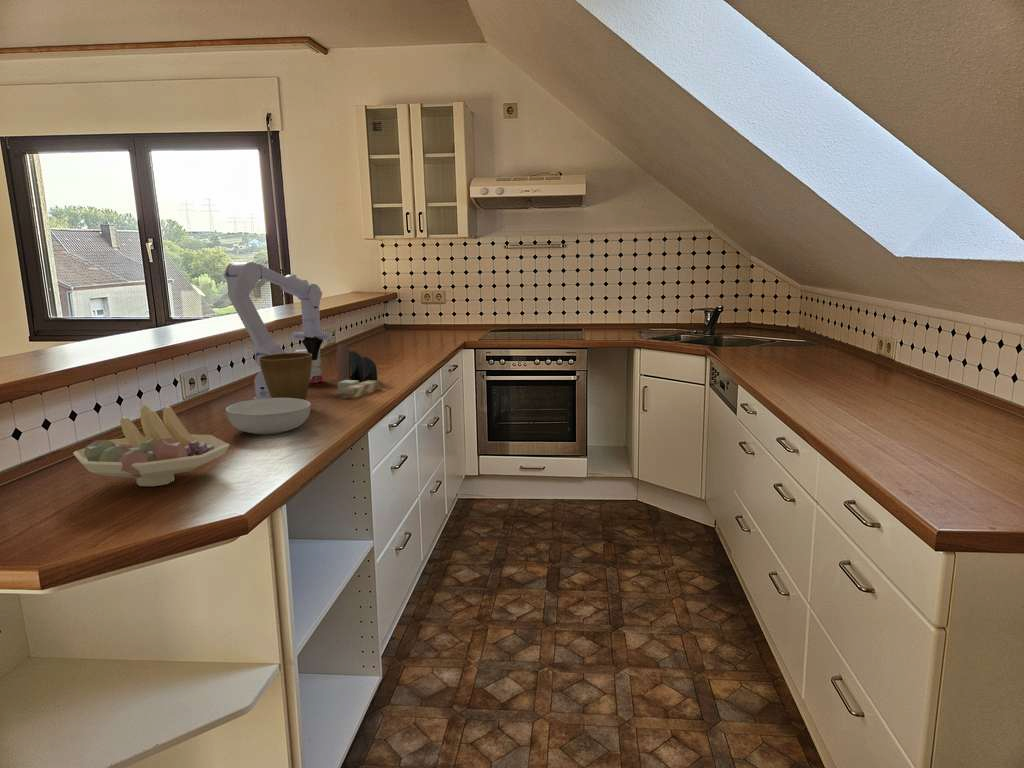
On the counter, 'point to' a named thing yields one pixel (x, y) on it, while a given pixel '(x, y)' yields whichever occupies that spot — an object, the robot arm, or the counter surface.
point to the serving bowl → (268, 415)
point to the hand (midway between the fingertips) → (313, 359)
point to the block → (346, 384)
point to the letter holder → (355, 366)
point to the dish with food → (151, 450)
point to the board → (360, 389)
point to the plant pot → (287, 374)
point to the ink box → (314, 368)
